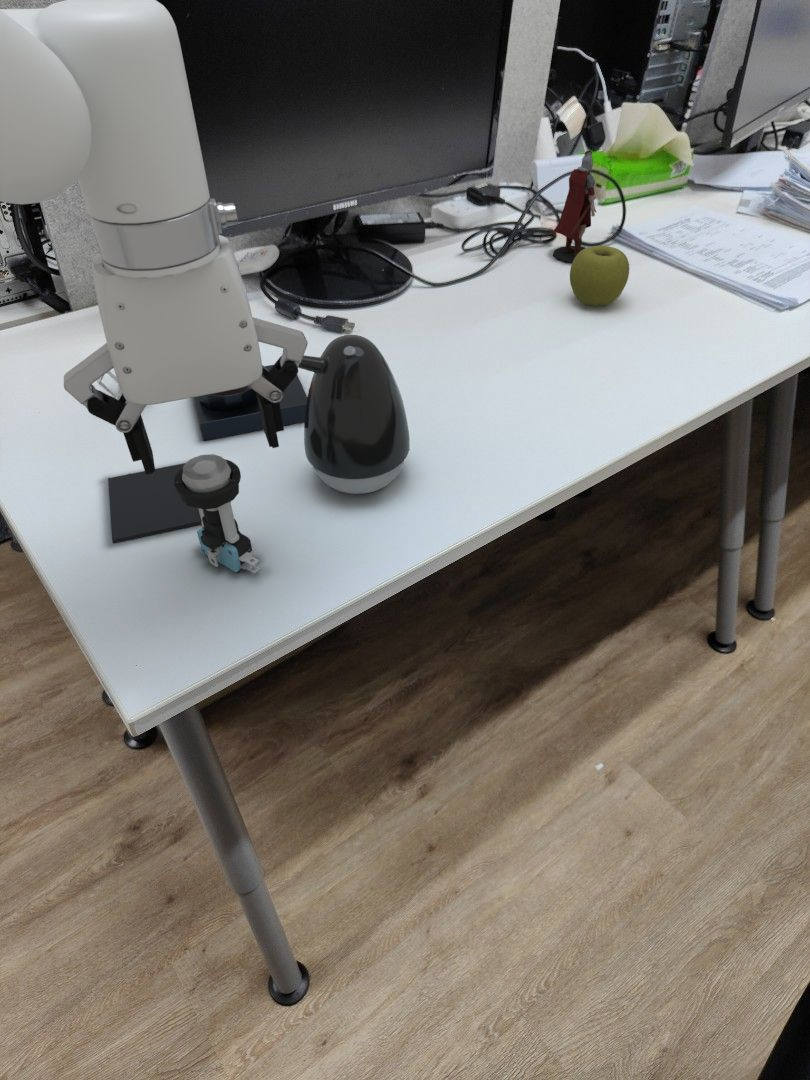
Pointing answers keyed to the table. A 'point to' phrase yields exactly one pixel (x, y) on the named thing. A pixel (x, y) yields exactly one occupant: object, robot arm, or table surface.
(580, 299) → the apple
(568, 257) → the figurine
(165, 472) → the pad
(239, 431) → the station
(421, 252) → the table surface
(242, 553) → the push button
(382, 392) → the pump dispenser
